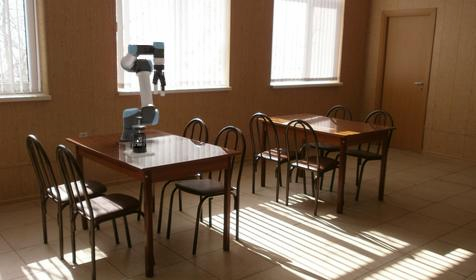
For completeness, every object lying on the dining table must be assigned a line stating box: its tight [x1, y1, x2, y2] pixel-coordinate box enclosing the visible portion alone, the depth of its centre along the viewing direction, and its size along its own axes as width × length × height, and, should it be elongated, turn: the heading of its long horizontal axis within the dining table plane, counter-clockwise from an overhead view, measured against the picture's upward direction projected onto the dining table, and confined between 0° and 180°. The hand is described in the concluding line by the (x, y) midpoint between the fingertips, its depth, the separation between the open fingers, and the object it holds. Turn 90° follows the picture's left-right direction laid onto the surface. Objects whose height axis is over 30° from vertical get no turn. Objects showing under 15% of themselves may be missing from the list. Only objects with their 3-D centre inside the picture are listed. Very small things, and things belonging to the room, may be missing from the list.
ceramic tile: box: [123, 148, 156, 158], centre depth 306 cm, size 14×16×2 cm
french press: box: [129, 117, 148, 153], centre depth 303 cm, size 12×9×23 cm
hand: (159, 94), depth 326 cm, fingers open, 13 cm apart
